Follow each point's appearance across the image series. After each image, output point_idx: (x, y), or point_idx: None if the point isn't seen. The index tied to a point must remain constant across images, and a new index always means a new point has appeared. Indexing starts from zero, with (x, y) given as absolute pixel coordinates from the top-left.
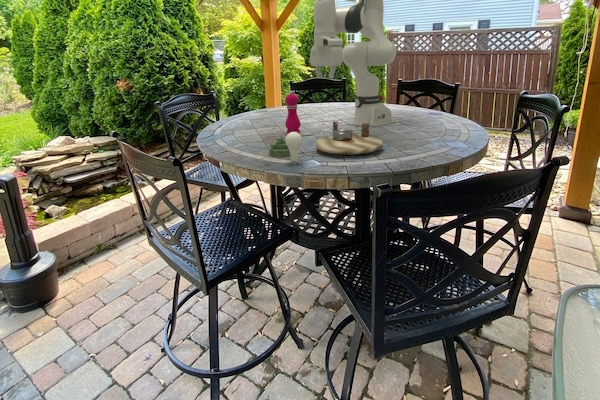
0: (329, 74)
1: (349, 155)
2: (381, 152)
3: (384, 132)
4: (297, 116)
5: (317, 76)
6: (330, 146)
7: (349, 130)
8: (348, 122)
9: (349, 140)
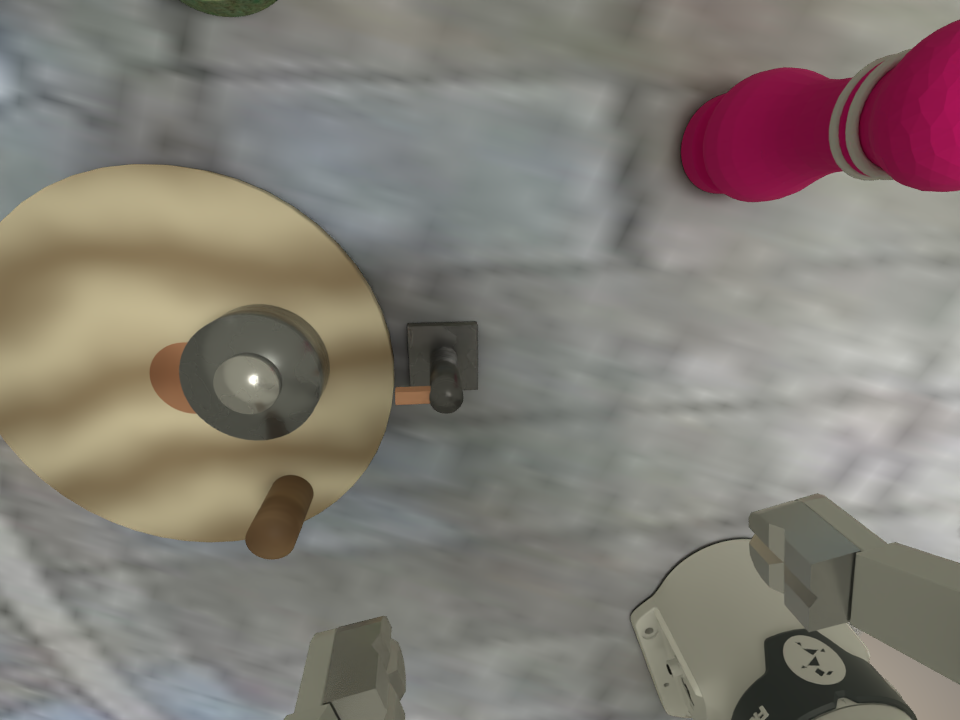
0: (329, 686)
1: None
2: None
3: (502, 611)
4: (788, 175)
5: (810, 503)
6: (76, 236)
7: (267, 427)
8: None
9: None
